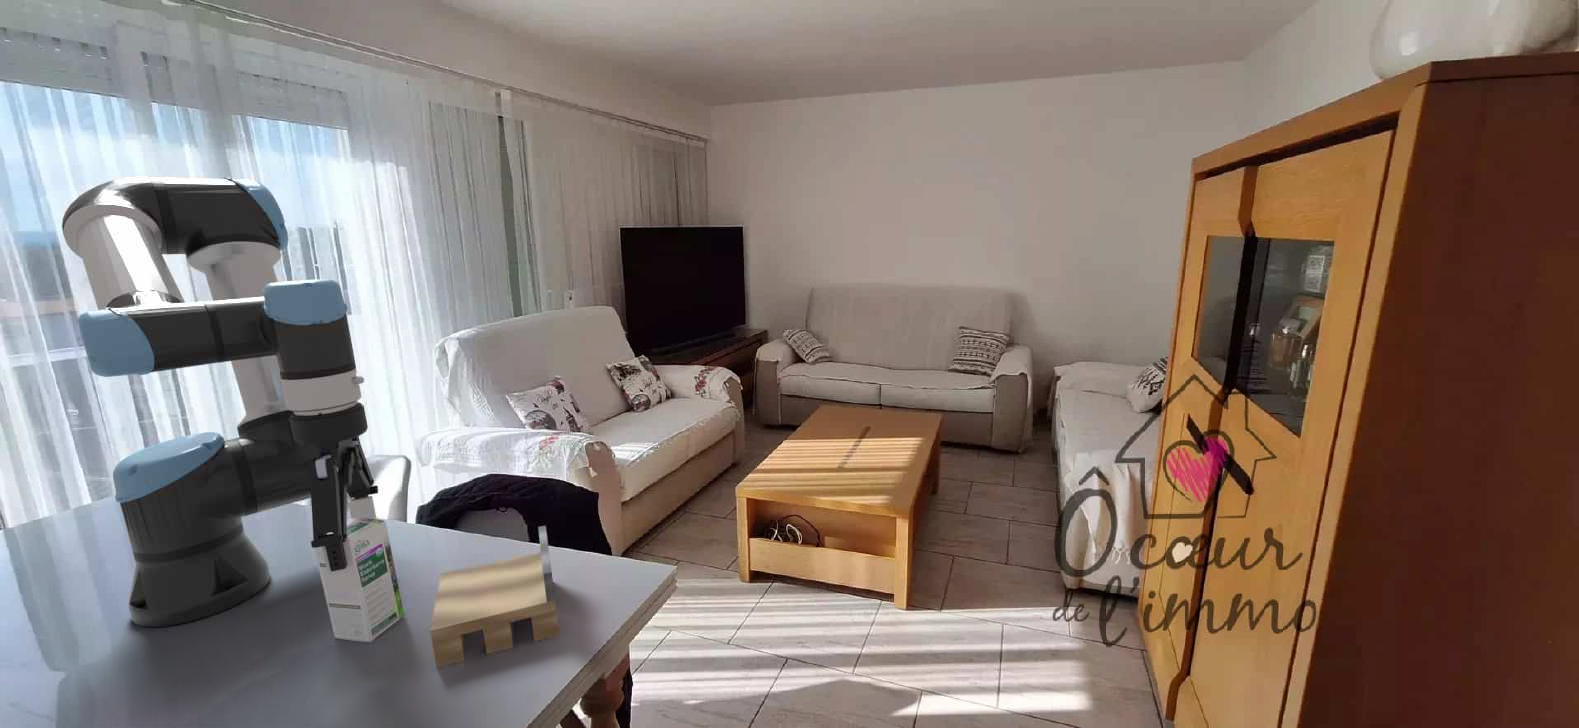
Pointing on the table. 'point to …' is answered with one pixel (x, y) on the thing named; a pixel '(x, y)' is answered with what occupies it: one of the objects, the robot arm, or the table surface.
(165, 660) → the table surface
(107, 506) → the table surface
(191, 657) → the table surface
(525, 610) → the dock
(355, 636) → the syrup box
